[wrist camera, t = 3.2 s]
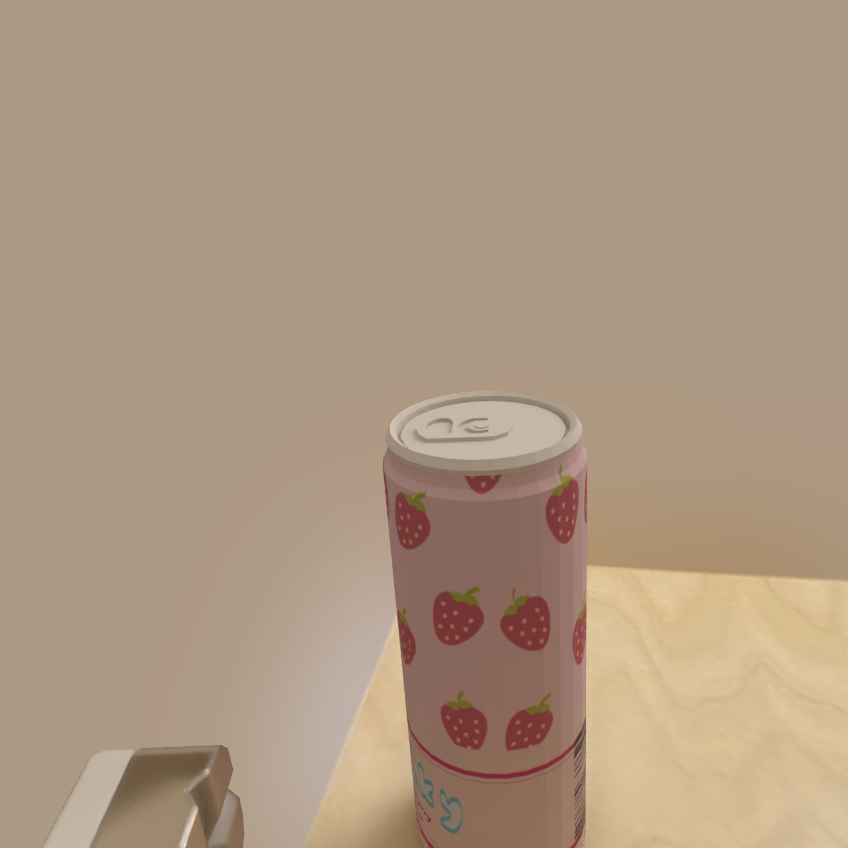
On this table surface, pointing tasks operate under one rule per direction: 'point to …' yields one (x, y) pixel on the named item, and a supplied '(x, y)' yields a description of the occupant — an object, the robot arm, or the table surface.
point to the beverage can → (492, 615)
